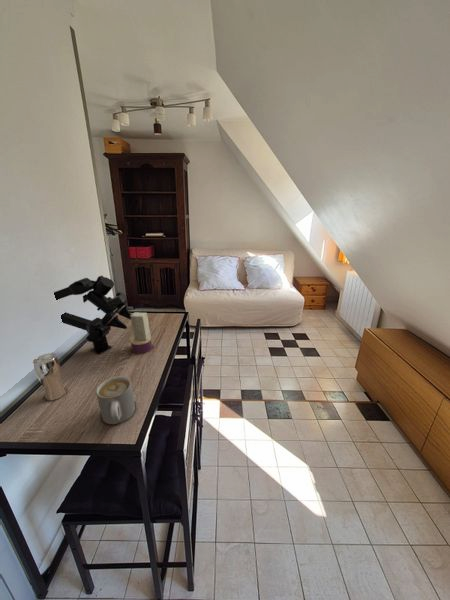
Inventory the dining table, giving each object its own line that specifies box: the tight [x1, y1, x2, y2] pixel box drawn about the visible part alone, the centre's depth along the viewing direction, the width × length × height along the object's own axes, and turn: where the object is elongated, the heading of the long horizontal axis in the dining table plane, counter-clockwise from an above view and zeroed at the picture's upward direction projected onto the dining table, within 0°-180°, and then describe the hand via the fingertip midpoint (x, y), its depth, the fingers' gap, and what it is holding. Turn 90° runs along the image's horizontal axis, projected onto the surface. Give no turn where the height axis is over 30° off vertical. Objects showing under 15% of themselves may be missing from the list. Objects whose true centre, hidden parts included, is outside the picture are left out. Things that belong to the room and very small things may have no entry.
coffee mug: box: [95, 376, 136, 425], centre depth 77 cm, size 13×10×10 cm
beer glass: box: [32, 352, 67, 401], centre depth 86 cm, size 7×7×15 cm
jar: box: [129, 334, 153, 354], centre depth 116 cm, size 9×9×6 cm
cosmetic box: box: [130, 311, 151, 340], centre depth 113 cm, size 6×4×12 cm
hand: (130, 323), depth 113 cm, fingers open, 9 cm apart
